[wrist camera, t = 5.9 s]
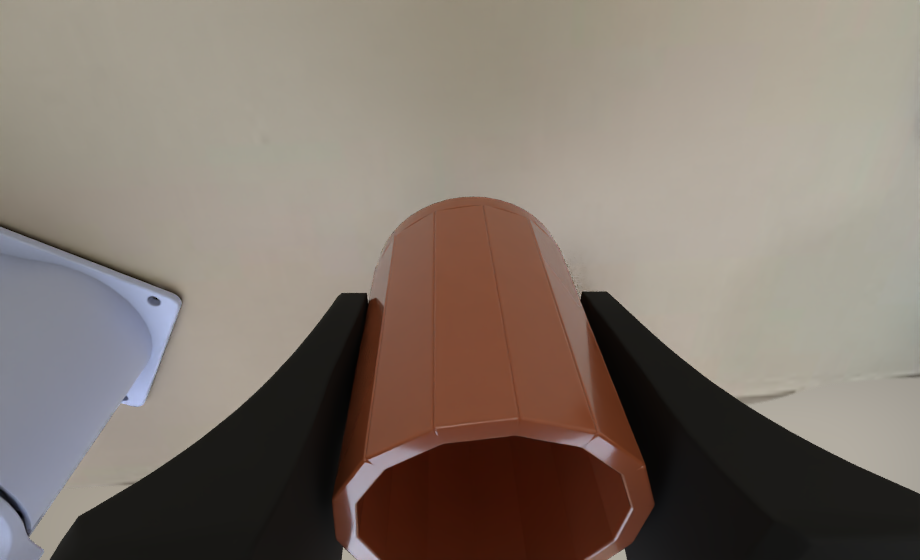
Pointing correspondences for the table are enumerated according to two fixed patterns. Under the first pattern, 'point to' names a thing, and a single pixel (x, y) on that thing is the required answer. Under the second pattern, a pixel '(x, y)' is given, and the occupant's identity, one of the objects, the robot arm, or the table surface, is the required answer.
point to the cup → (483, 403)
